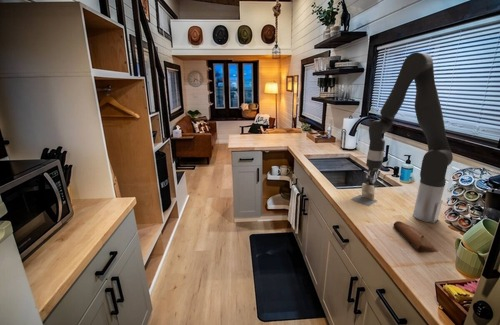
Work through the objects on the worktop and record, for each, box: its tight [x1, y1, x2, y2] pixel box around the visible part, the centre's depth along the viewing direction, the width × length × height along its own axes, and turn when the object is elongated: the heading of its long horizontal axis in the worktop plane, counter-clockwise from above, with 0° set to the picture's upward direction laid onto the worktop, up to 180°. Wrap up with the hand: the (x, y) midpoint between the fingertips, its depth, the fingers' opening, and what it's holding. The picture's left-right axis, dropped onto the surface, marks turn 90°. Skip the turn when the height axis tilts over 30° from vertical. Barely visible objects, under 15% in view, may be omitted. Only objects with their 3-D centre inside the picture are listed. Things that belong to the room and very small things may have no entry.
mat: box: [350, 194, 378, 207], centre depth 137 cm, size 10×10×1 cm
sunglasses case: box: [392, 220, 439, 253], centre depth 104 cm, size 18×7×7 cm, turn 0°
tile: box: [361, 182, 376, 200], centre depth 138 cm, size 6×2×8 cm, turn 39°
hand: (370, 188), depth 139 cm, fingers closed
